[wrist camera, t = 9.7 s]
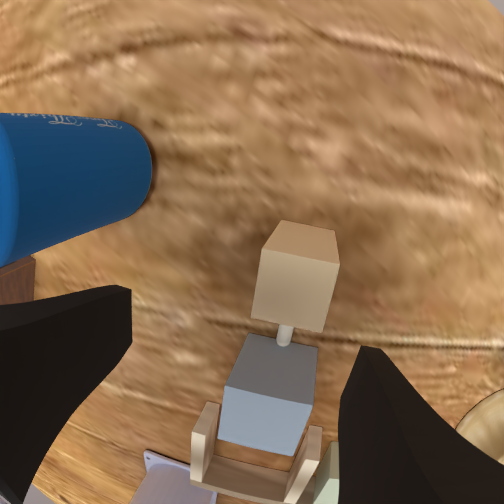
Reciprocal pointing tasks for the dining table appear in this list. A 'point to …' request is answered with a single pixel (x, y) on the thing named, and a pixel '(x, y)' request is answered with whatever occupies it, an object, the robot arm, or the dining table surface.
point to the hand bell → (486, 426)
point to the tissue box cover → (17, 281)
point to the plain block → (328, 477)
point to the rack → (252, 467)
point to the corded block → (281, 341)
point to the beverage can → (66, 178)
